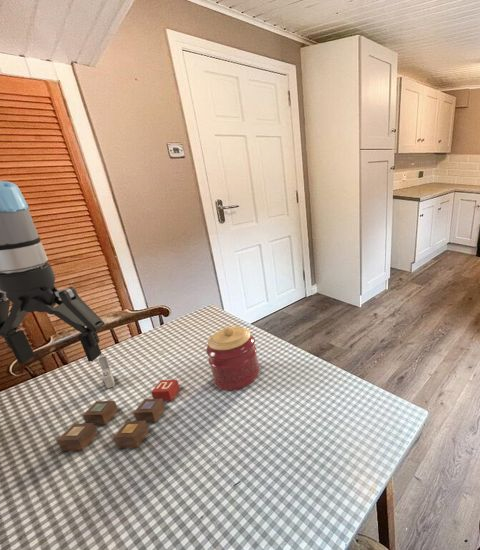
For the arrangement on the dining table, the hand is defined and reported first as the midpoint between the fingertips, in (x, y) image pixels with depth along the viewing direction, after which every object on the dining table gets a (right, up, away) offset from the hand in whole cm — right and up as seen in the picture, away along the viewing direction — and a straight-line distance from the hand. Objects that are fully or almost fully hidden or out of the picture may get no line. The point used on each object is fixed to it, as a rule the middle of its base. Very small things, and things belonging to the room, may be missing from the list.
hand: (61, 358), depth 65 cm
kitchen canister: (+27, -13, +27) cm, 40 cm away
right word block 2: (+11, -19, +13) cm, 25 cm away
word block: (-1, -22, +6) cm, 22 cm away
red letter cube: (+10, -16, +19) cm, 27 cm away
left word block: (-1, -19, +12) cm, 23 cm away
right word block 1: (+11, -21, +6) cm, 25 cm away
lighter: (-10, -14, +25) cm, 30 cm away
